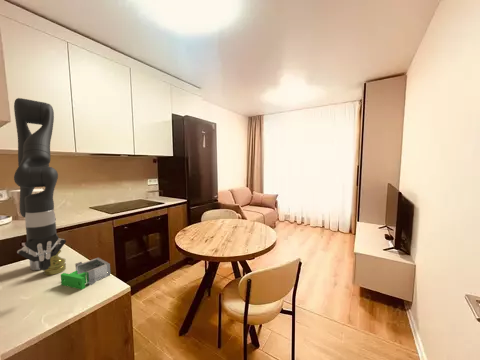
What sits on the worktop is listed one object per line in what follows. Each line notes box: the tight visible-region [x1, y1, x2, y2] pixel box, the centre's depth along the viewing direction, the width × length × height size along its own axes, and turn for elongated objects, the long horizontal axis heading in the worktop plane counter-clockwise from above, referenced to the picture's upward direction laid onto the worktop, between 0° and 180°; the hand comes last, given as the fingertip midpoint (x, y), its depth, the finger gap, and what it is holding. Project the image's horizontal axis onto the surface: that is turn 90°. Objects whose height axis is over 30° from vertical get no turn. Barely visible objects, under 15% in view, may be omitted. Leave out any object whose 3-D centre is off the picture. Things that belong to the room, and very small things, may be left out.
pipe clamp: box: [60, 270, 87, 290], centre depth 79 cm, size 11×4×5 cm, turn 74°
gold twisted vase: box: [43, 249, 67, 276], centre depth 89 cm, size 7×8×10 cm
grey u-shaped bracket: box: [74, 257, 112, 286], centre depth 85 cm, size 13×8×5 cm, turn 58°
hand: (44, 269), depth 72 cm, fingers closed
